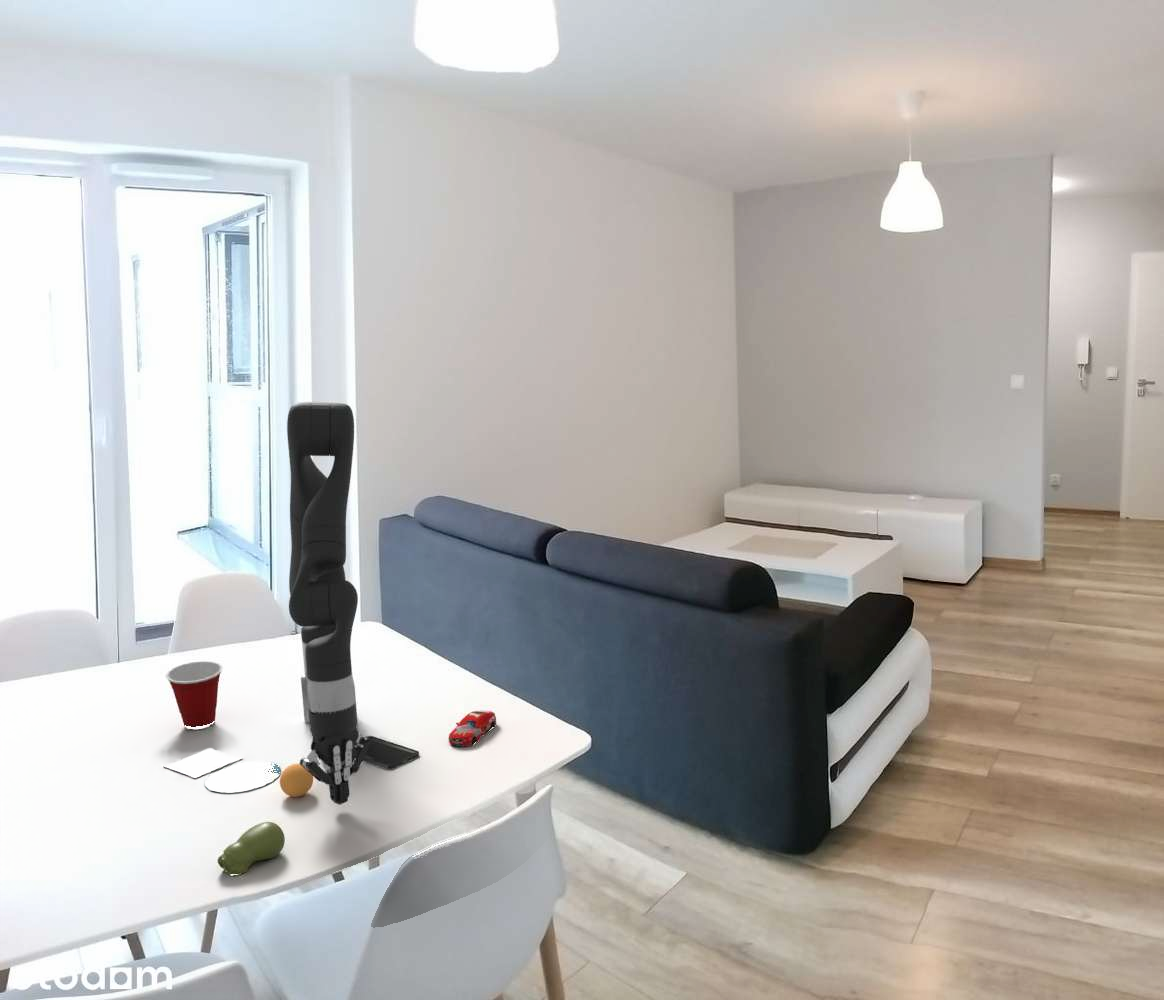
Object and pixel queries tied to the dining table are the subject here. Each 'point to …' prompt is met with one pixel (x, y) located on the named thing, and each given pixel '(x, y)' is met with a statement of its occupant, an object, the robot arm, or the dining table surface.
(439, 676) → the dining table surface
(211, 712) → the plastic cup
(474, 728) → the race car
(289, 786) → the ball
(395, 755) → the phone
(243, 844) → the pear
